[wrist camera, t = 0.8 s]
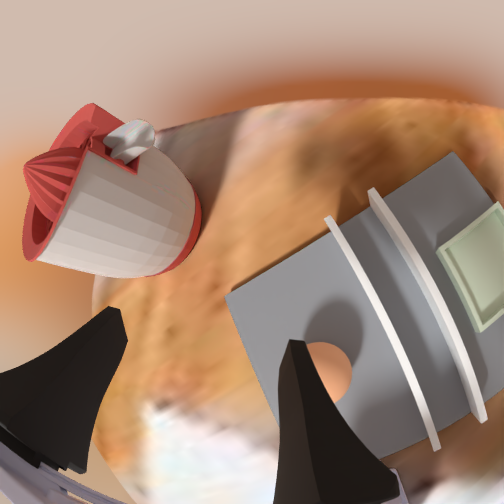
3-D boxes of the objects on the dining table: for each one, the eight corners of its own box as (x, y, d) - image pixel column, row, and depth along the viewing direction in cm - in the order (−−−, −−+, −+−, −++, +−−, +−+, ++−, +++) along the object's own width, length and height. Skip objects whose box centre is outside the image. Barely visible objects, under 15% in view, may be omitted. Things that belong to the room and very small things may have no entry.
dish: (532, 280, 12) (539, 277, 11) (475, 331, 15) (480, 332, 13) (492, 207, 15) (497, 200, 14) (435, 252, 18) (438, 248, 16)
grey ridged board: (549, 338, 11) (570, 340, 7) (308, 475, 18) (293, 496, 15) (451, 156, 19) (457, 131, 15) (229, 297, 27) (205, 293, 23)
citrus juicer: (248, 248, 27) (54, 152, 10) (138, 307, 33) (-9, 281, 16) (213, 143, 33) (95, 49, 16) (127, 210, 39) (16, 162, 22)
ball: (365, 382, 18) (358, 401, 14) (310, 406, 20) (289, 426, 15) (340, 328, 20) (327, 332, 16) (287, 354, 22) (261, 363, 17)
